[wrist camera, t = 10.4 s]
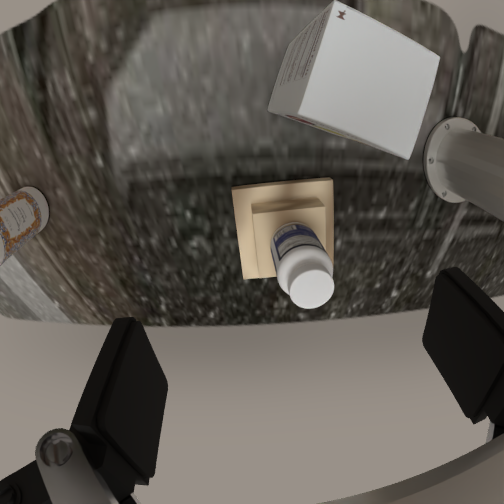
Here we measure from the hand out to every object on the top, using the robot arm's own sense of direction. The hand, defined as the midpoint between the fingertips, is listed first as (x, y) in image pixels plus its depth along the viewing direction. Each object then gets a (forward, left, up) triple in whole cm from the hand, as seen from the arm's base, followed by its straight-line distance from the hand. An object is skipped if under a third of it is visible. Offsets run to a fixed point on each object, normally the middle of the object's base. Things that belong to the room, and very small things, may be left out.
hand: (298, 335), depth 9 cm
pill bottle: (-4, +9, -25) cm, 27 cm away
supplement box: (-8, -8, -30) cm, 32 cm away
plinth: (-3, +9, -30) cm, 31 cm away
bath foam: (+32, +1, -30) cm, 44 cm away
